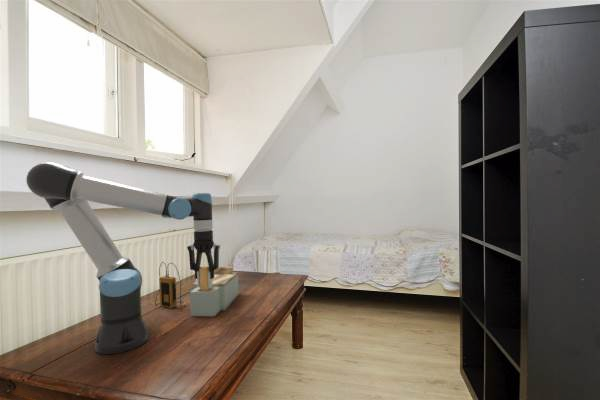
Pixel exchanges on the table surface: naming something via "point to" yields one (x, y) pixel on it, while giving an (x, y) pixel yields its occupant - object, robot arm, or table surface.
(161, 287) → the multimeter
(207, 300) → the toolbox
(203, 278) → the long wooden block
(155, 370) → the table surface
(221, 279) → the lid
